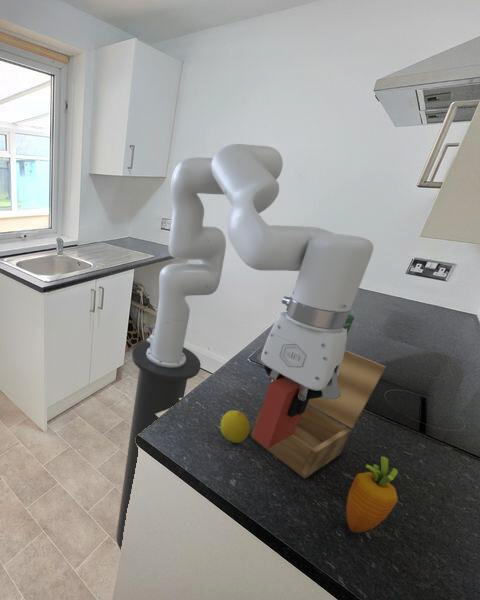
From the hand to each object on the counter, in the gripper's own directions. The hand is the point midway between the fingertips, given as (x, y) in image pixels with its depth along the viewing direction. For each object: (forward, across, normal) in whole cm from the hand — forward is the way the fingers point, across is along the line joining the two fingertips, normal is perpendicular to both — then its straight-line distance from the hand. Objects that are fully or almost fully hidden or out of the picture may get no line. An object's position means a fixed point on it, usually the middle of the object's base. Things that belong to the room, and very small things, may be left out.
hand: (283, 406), depth 56 cm
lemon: (+16, -8, +2) cm, 18 cm away
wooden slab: (+2, -1, +21) cm, 21 cm away
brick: (+7, 0, 0) cm, 7 cm away
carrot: (+16, +14, +4) cm, 22 cm away
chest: (+16, -1, +14) cm, 21 cm away
